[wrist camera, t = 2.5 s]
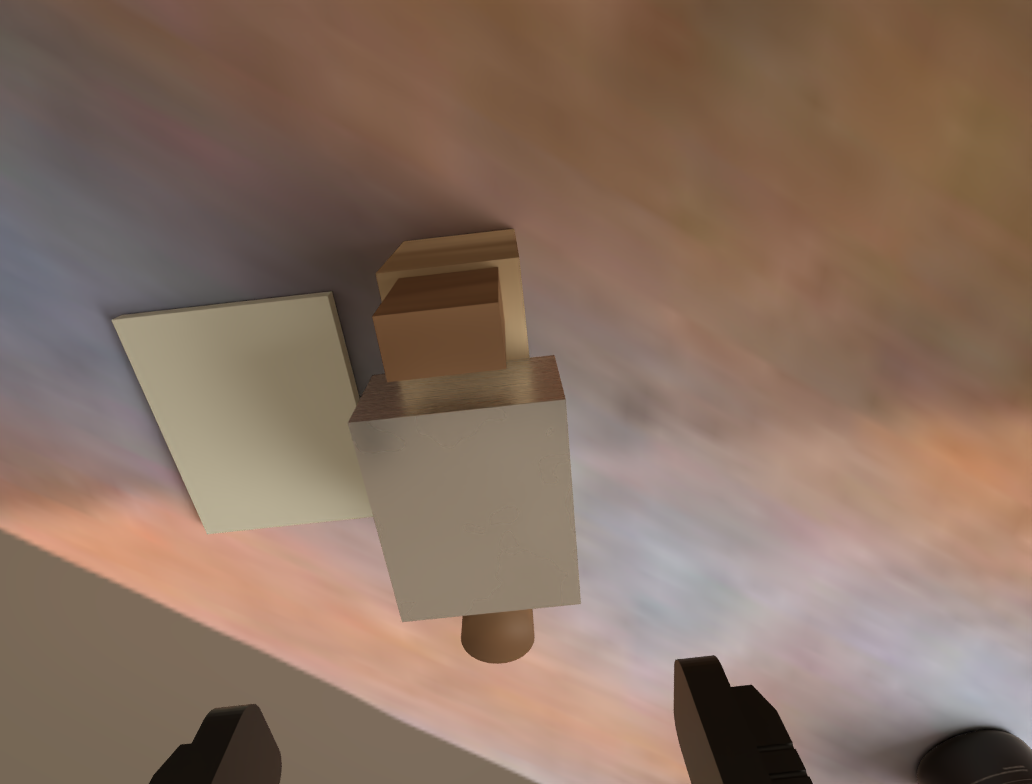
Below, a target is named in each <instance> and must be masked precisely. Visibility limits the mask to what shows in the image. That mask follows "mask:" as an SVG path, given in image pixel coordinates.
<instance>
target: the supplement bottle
mask: <svg viewBox="0 0 1032 784" xmlns="http://www.w3.org/2000/svg"><path fill="white" fill-rule="evenodd" d="M917 781H918V784H1032V749H1031V748H1030V747H1029V746H1028V745H1027V744H1026V743H1025V742H1024V741H1022V740H1021V739H1020V738H1018V737H1016V736H1014V735H1012V734H1010V733H1007V732H1003V731H998V730H980V731H973V732H968V733H965V734H961V735H958V736H955V737H953V738H951V739H948V740H946V741H944V742H942V743H941V744H939V745H937V746H936V747H934V748H933V749H932V750H931V751H929V752H928V753H927V754H926V755H925V756H924V758H923V759H922V760H921V762H920V763H919V766H918V769H917Z"/></svg>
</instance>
